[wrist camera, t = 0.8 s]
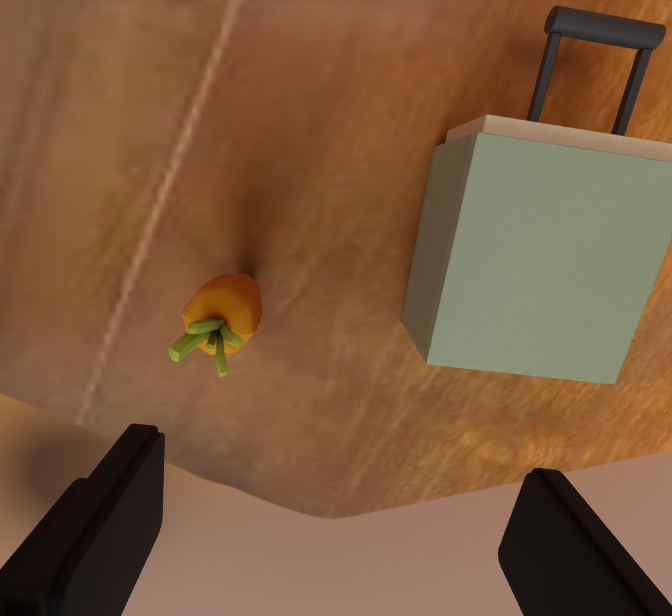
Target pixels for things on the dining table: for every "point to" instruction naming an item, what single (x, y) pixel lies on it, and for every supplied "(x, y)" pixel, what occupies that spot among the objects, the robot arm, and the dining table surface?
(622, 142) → the drawer
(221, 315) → the carrot
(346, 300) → the dining table surface
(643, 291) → the cabinet
